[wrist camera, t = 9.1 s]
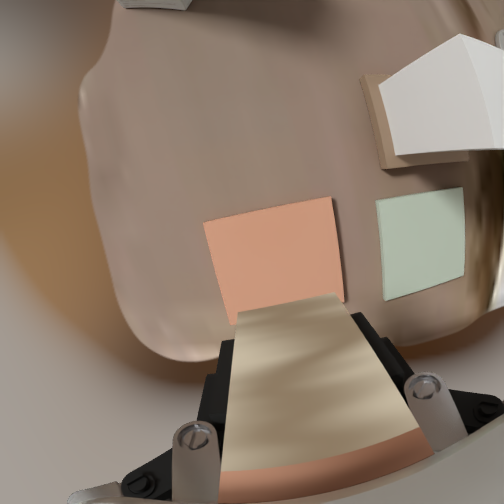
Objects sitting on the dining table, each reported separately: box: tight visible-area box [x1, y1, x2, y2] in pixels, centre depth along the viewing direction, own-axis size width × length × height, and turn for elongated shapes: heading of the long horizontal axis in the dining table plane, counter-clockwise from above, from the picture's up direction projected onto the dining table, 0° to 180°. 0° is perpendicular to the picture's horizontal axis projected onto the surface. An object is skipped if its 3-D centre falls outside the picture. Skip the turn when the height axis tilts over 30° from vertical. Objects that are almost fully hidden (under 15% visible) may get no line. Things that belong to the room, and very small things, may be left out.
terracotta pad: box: [203, 196, 344, 325], centre depth 22 cm, size 10×9×1 cm
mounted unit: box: [359, 34, 504, 169], centre depth 13 cm, size 10×8×12 cm
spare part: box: [218, 292, 434, 504], centre depth 7 cm, size 4×4×8 cm
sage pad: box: [375, 187, 465, 301], centre depth 21 cm, size 10×9×1 cm
